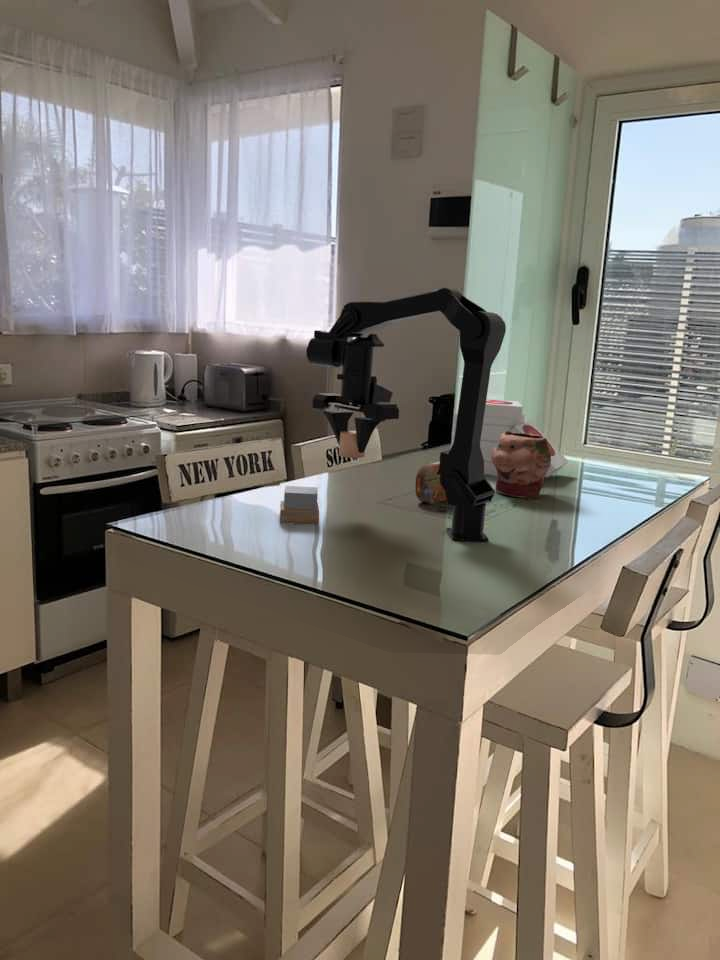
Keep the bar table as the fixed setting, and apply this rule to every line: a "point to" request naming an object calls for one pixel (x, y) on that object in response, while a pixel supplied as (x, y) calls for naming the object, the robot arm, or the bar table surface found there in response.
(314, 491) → the slate block
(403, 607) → the bar table surface
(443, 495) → the tin
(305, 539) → the bar table surface
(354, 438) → the peach rounded block
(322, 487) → the bar table surface
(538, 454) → the decorative planter
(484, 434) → the pizza boxes
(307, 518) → the walnut block
